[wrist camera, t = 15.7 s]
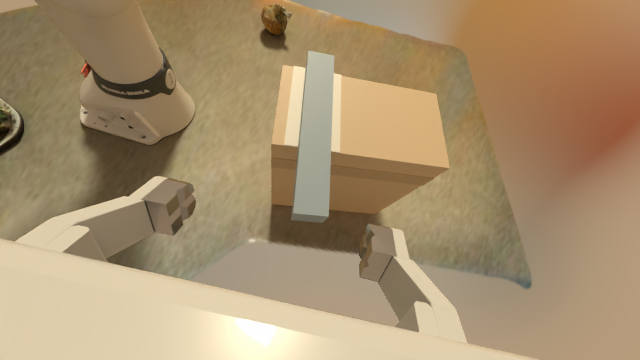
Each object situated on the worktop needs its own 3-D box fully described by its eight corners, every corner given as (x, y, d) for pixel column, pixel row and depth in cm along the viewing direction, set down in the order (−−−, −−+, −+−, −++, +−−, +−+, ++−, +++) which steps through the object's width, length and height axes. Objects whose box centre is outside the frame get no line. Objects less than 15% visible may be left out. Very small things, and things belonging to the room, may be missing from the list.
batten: (290, 220, 25) (293, 213, 23) (305, 68, 34) (308, 50, 31) (322, 222, 26) (328, 216, 23) (329, 73, 35) (334, 55, 32)
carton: (271, 204, 52) (271, 143, 28) (278, 152, 57) (283, 63, 34) (374, 214, 56) (450, 168, 32) (372, 164, 61) (437, 92, 37)
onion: (281, 19, 75) (282, -8, 68) (291, 37, 73) (293, 11, 66) (258, 22, 73) (256, -6, 65) (267, 41, 71) (267, 14, 63)
